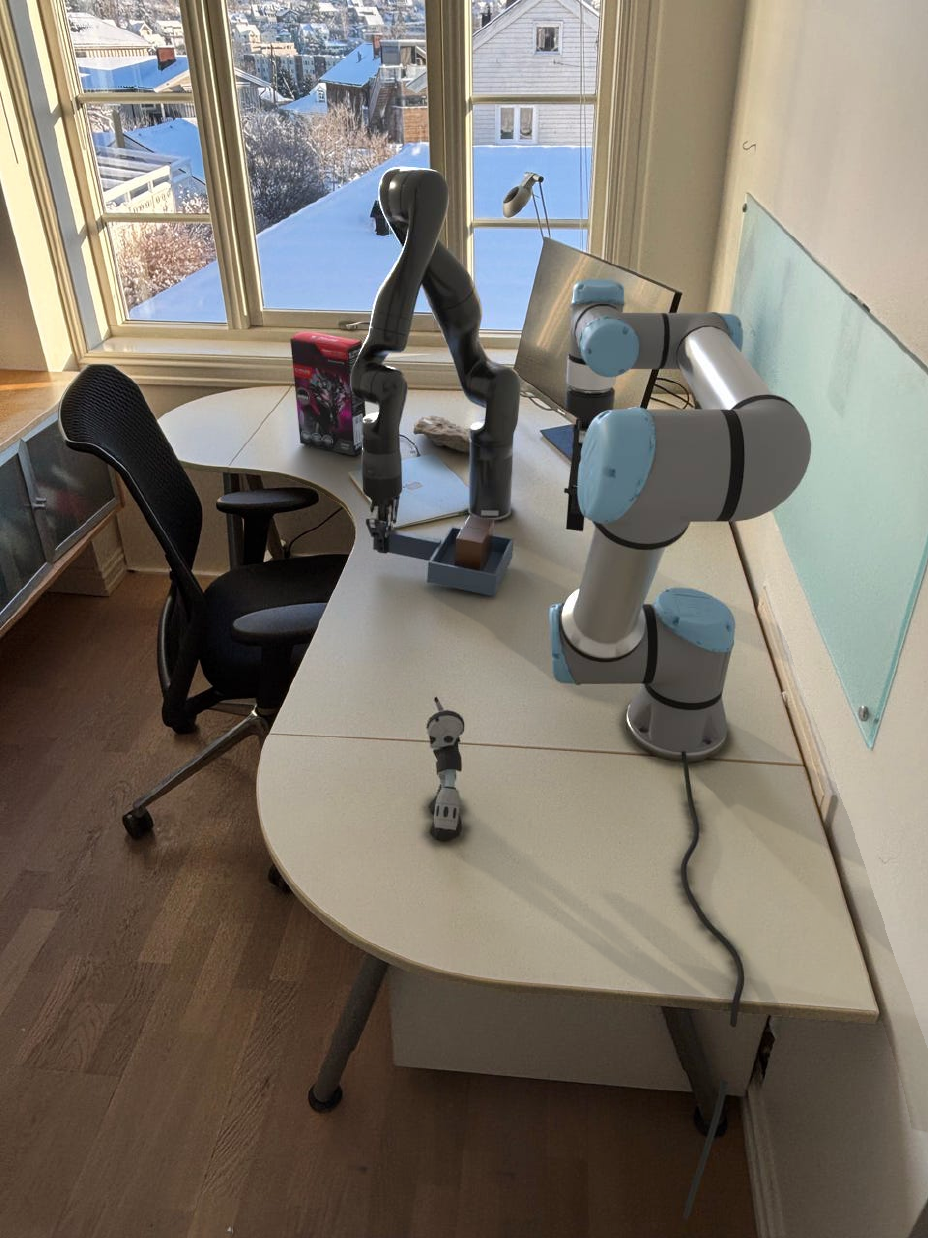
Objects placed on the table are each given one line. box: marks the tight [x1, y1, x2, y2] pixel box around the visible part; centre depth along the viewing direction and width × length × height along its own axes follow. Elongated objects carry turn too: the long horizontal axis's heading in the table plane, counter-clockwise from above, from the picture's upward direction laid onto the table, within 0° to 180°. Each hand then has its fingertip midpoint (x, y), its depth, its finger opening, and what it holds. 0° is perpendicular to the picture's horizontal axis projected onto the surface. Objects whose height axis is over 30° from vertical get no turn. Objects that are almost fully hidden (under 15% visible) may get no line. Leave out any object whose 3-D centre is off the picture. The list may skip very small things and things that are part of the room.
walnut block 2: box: [454, 526, 488, 572], centre depth 176 cm, size 5×5×8 cm
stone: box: [412, 415, 470, 453], centre depth 232 cm, size 21×15×6 cm
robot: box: [425, 696, 465, 842], centre depth 121 cm, size 20×5×20 cm, turn 3°
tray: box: [372, 525, 515, 597], centre depth 180 cm, size 15×27×5 cm, turn 75°
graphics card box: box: [289, 330, 367, 456], centre depth 225 cm, size 17×7×27 cm, turn 62°
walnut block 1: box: [462, 514, 495, 566], centre depth 180 cm, size 5×5×8 cm
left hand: (384, 549), depth 183 cm, fingers closed on tray, 1 cm apart
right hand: (580, 511), depth 153 cm, fingers open, 13 cm apart
